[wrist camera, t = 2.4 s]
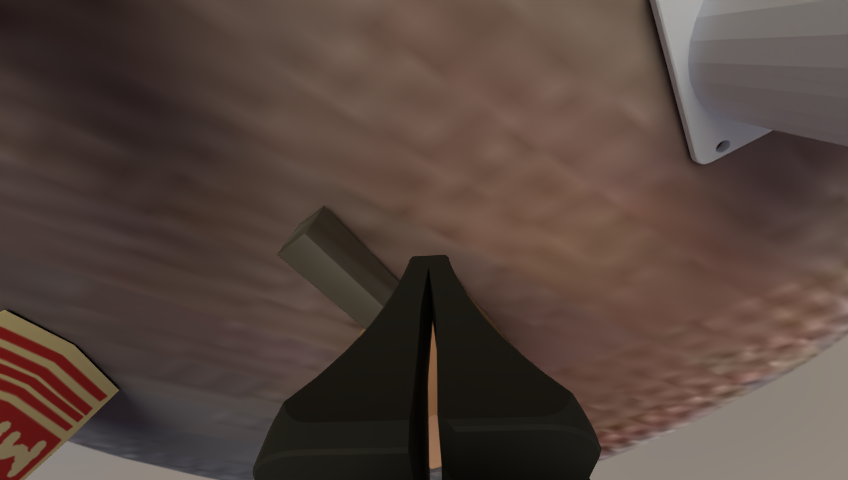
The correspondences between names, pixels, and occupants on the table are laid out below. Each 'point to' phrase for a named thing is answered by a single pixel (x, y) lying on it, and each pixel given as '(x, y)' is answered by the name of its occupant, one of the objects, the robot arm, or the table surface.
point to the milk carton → (42, 394)
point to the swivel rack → (342, 267)
